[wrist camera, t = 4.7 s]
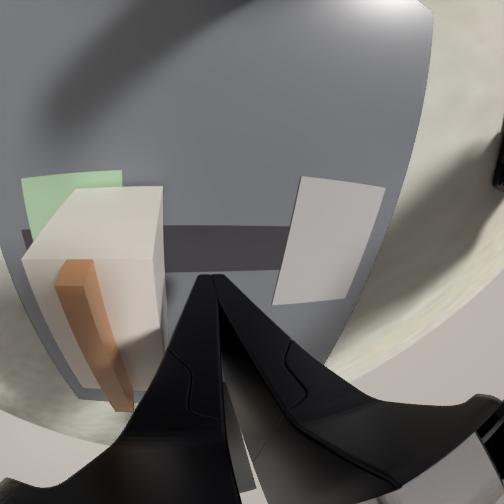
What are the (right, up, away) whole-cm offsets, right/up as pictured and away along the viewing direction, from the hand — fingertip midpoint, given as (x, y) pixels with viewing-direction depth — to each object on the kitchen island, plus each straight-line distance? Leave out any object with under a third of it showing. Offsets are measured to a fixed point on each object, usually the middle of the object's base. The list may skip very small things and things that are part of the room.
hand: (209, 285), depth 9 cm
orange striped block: (-3, +1, +1) cm, 3 cm away
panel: (-1, +2, +2) cm, 3 cm away
